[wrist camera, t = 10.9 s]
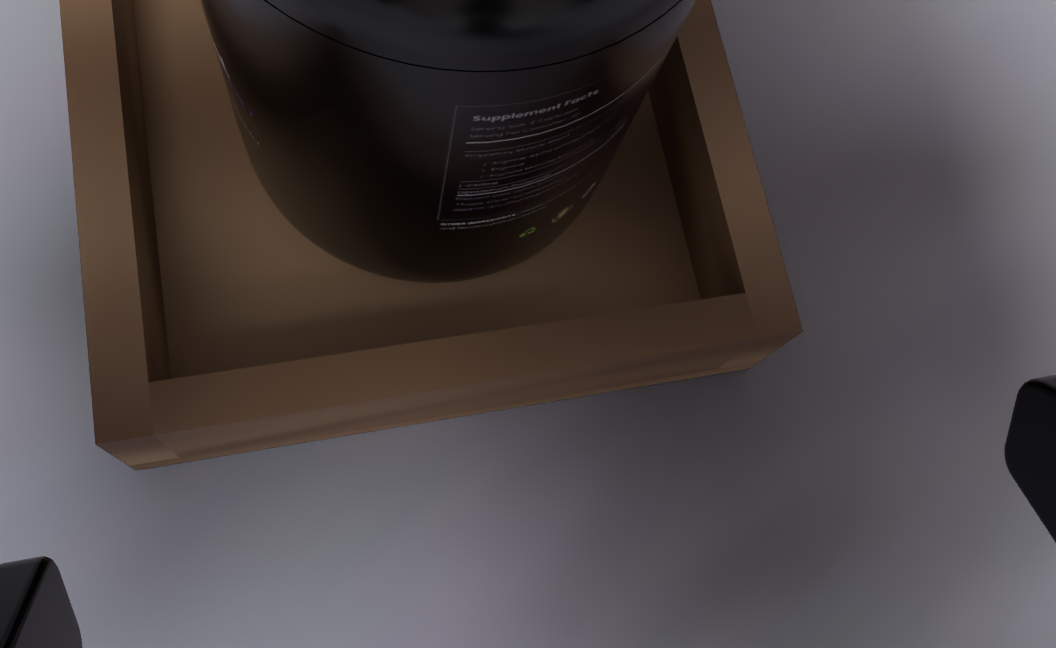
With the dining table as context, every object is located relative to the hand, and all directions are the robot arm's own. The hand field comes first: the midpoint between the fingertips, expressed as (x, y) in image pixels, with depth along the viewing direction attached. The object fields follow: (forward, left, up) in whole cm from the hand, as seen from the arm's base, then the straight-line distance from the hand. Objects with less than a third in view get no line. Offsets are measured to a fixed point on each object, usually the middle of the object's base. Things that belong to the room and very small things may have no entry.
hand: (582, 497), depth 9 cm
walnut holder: (+6, -5, -8) cm, 12 cm away
